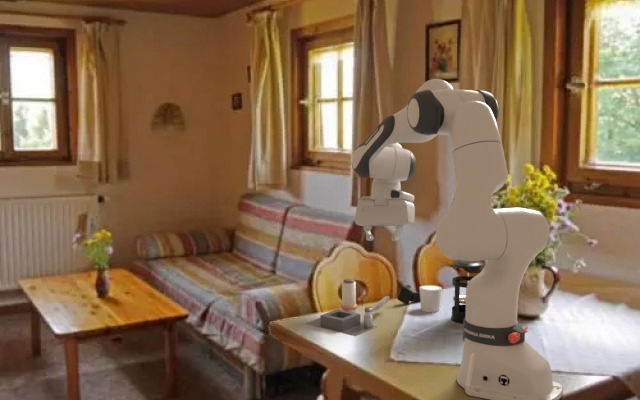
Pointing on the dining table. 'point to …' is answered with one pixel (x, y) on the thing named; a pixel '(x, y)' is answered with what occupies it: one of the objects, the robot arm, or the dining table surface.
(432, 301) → the white cup
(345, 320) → the socket block
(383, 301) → the ball-tipped lever
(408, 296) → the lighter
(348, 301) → the plug
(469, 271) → the french press
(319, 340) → the dining table surface
